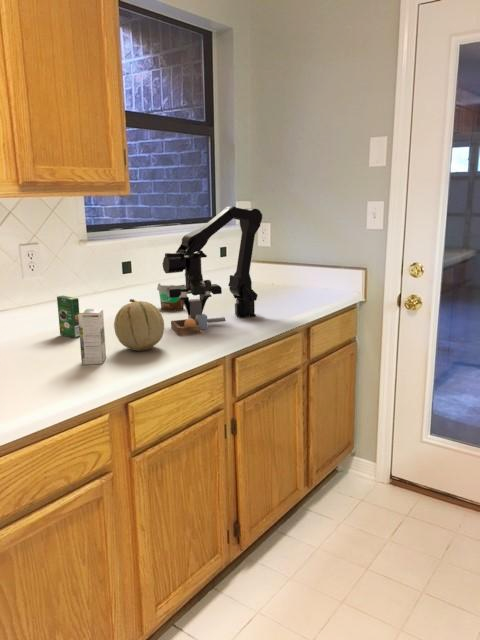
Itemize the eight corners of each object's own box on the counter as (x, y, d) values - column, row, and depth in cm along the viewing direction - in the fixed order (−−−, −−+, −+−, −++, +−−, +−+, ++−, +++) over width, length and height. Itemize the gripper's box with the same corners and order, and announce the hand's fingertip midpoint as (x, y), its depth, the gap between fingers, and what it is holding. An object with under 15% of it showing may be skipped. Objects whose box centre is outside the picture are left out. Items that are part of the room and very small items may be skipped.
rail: (224, 319, 194) (224, 317, 194) (225, 320, 193) (225, 317, 193) (183, 323, 189) (183, 321, 189) (184, 324, 188) (184, 321, 188)
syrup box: (85, 359, 150) (81, 308, 147) (107, 358, 151) (103, 307, 147) (81, 365, 145) (76, 313, 141) (103, 364, 145) (99, 312, 142)
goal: (192, 325, 186) (192, 318, 186) (200, 333, 176) (200, 325, 175) (171, 327, 184) (170, 320, 183) (178, 335, 174) (178, 327, 173)
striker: (199, 320, 192) (198, 298, 191) (208, 328, 181) (208, 305, 179) (188, 321, 191) (187, 299, 189) (197, 329, 180) (196, 306, 178)
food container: (152, 310, 213) (150, 285, 211) (160, 307, 219) (158, 283, 216) (179, 312, 209) (178, 286, 206) (186, 308, 214) (185, 284, 212)
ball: (188, 314, 181) (180, 323, 181) (191, 317, 177) (183, 326, 177) (196, 322, 183) (189, 330, 182) (199, 324, 179) (192, 333, 179)
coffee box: (82, 336, 174) (79, 297, 171) (75, 338, 172) (71, 298, 169) (67, 333, 179) (63, 295, 176) (59, 335, 177) (55, 296, 174)
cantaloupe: (150, 358, 149) (147, 306, 146) (105, 354, 154) (101, 303, 151) (174, 344, 163) (172, 296, 159) (132, 341, 168) (129, 294, 164)
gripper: (171, 275, 175) (174, 321, 179) (225, 272, 181) (227, 316, 185) (165, 271, 186) (167, 315, 189) (216, 268, 191) (217, 310, 195)
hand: (195, 314), depth 189 cm, fingers closed on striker, 4 cm apart
